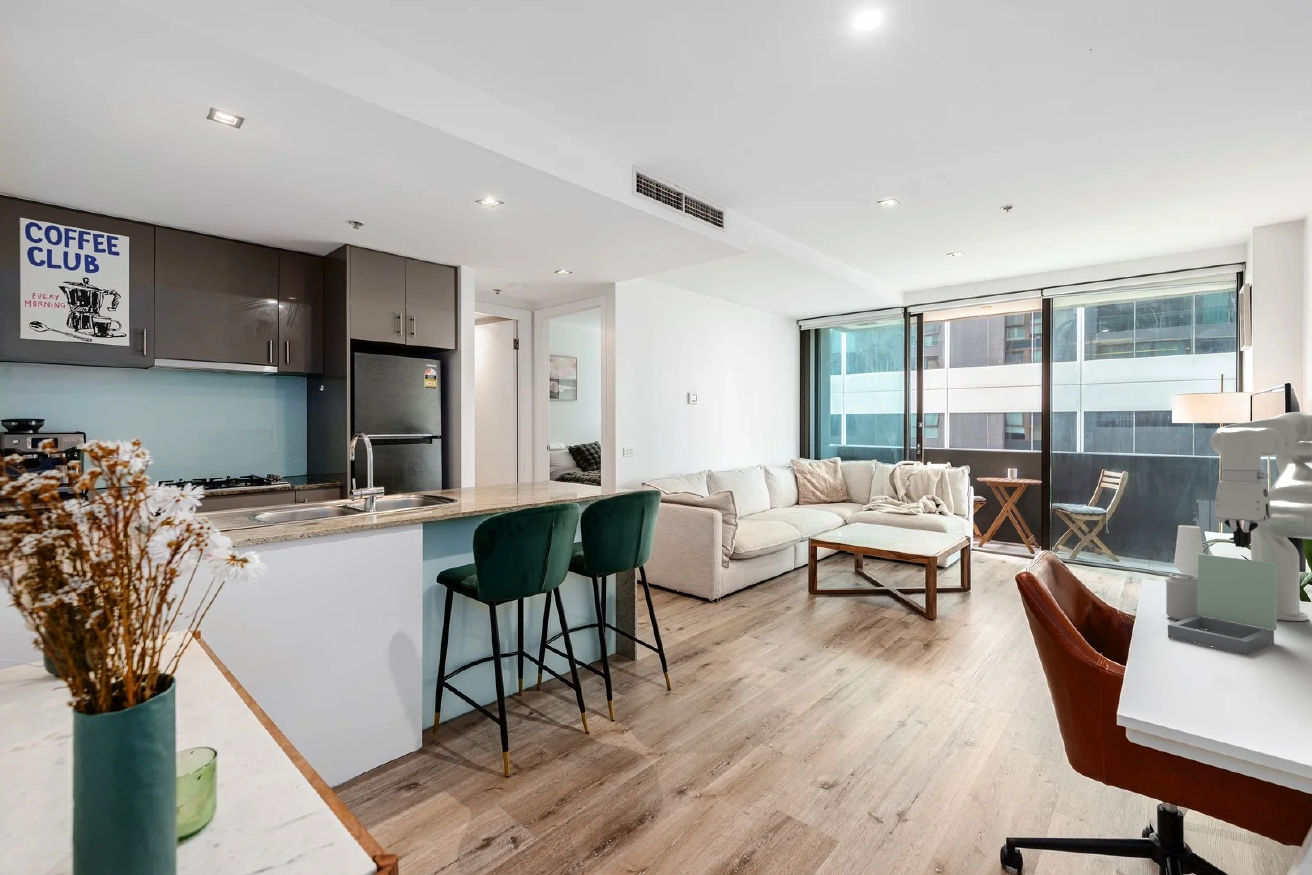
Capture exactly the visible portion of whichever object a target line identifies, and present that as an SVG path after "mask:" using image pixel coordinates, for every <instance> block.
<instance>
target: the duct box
mask: <svg viewBox="0 0 1312 875" xmlns="http://www.w3.org/2000/svg"><path fill="white" fill-rule="evenodd" d="M1197 629H1200V630H1197ZM1203 629H1207V630H1203ZM1208 630H1210V631H1208ZM1213 631H1214V632H1213ZM1222 633H1224V635H1223V634H1222ZM1167 637H1168V638H1171V637H1173V638H1172V639H1175V638H1177V639H1176V640H1180V639H1181V640H1180V641H1184V640H1185V642H1188V641H1189V642H1190V643H1193V642H1196V643H1195V644H1197V643H1200V644H1199V645H1201V644H1203V645H1202V646H1206V645H1207V646H1206V647H1210V646H1213V647H1212V648H1214V647H1216V648H1215V649H1219V648H1220V649H1219V650H1224V651H1227V650H1230V651H1229V652H1232V651H1233V652H1232V653H1237V654H1241V655H1245V654H1246V656H1248V655H1250V654H1252V653H1255V652H1257V651H1259V650H1261V649H1264V648H1266V647H1268V646H1270V645H1273V644H1275V630H1270V629H1265V628H1260V627H1255V626H1249V625H1244V624H1239V623H1234V622H1229V621H1224V620H1219V619H1214V618H1209V617H1204V616H1198V615H1195V616H1192V617H1189V618H1187V619H1184V620H1181V621H1175V622H1172V623H1168V624H1167Z"/></svg>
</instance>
